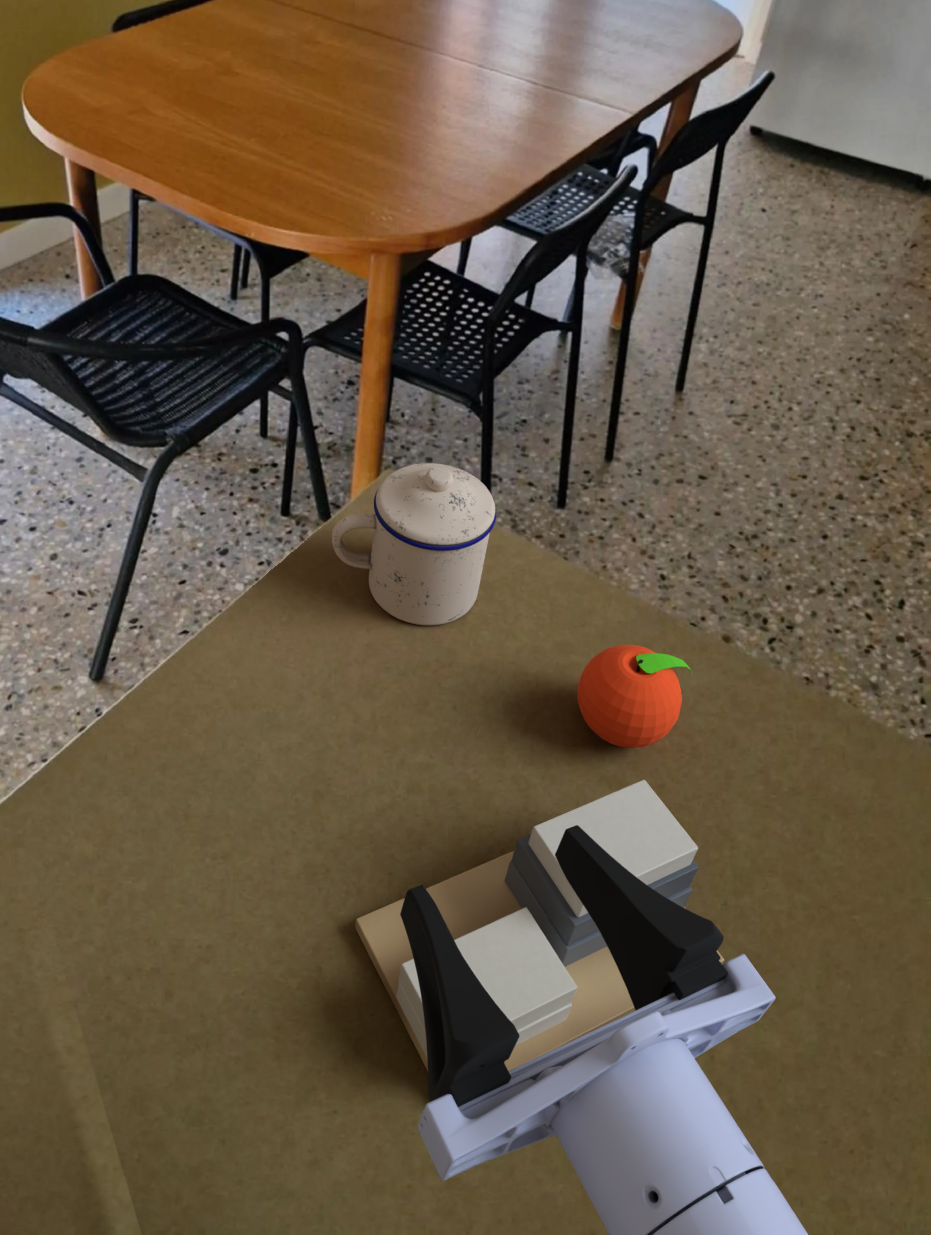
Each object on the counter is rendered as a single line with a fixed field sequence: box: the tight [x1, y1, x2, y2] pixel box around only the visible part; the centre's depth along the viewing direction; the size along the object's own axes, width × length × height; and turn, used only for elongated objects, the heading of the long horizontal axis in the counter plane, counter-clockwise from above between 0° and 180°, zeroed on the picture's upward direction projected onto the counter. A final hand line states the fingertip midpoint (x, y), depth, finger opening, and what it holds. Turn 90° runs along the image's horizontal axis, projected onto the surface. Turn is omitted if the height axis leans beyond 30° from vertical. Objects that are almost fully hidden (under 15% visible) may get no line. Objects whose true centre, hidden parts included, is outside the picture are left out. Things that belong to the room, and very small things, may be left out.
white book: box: [529, 779, 699, 917], centre depth 64 cm, size 5×8×2 cm, turn 116°
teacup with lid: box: [331, 462, 497, 626], centre depth 84 cm, size 12×9×12 cm
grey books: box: [505, 833, 700, 967], centre depth 66 cm, size 6×9×4 cm, turn 116°
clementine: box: [577, 644, 693, 749], centre depth 76 cm, size 8×7×7 cm
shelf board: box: [354, 850, 725, 1072], centre depth 65 cm, size 11×18×1 cm, turn 116°
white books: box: [396, 907, 577, 1057], centre depth 60 cm, size 5×8×4 cm, turn 116°
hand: (491, 868), depth 47 cm, fingers open, 7 cm apart
